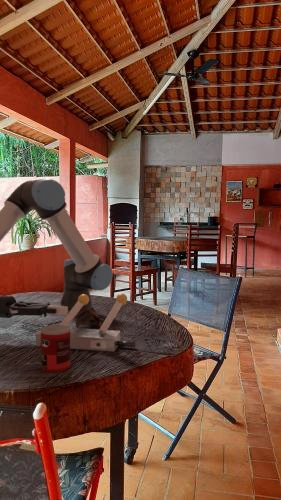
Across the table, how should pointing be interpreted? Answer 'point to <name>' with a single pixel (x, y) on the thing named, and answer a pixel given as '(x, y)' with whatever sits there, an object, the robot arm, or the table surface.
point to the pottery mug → (88, 317)
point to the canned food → (55, 348)
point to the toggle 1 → (75, 309)
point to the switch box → (93, 340)
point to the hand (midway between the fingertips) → (66, 311)
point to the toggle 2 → (113, 312)
